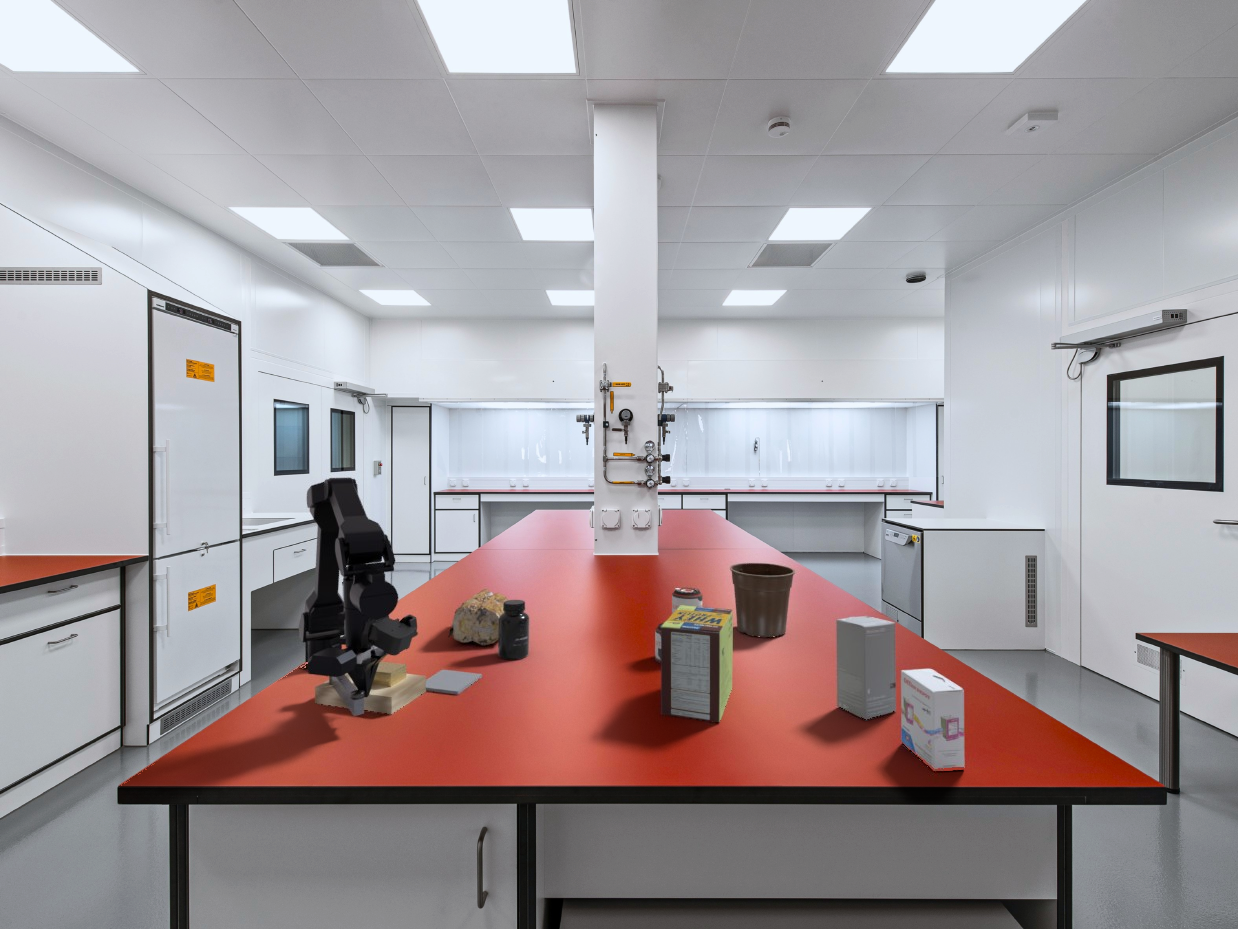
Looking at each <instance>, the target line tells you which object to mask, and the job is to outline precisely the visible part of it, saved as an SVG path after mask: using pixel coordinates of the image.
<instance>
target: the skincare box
mask: <svg viewBox="0 0 1238 929" xmlns="http://www.w3.org/2000/svg"><path fill="white" fill-rule="evenodd" d="M835 622H836V623H835V624H836V706H837V707H838V706H839V707H841V708H843V709H842V710H844V709H845V710H844V711H846V710H847V711H846V712H848V711H849V713H850V714H853V715H855V716H857V717H859V718H861V717H862V718H864V719H866V720H865V721H868V720H867V719H869V720H871V719H873V718H872V717H875V718H877V717H876V716H878V717H881V716H884V715H887V714H891V713H894V712H893V711H895V712H896V711H897V685H896V684H897V681H896V680H897V679H896V678H897V677H896V676H897V673H896V671H897V670H896V669H897V668H896V667H897V666H896V663H897V662H896V622H894V621H891V620H887V619H886V620H885V619H882V618H877V617H873V616H869V615H863V616H849V617H844V618H837V619H836V621H835ZM839 707H838V708H839ZM841 708H840V709H841ZM880 715H881V716H880ZM862 718H861V719H862ZM870 718H871V719H870ZM864 719H863V720H864Z"/></svg>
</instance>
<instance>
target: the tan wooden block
mask: <svg viewBox="0 0 1238 929" xmlns="http://www.w3.org/2000/svg"><path fill="white" fill-rule="evenodd" d="M406 674H407V664H404V663H396V662H388V661H382V660H381V661H380V663H379V665H378V668H377V671H376V674H375V677H374V680H373V684H372V685H379V686H387V687H392V686H393V685H395V684H397V683H398V682H400V681H402V680H403V679H405V678H406Z"/></svg>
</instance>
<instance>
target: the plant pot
mask: <svg viewBox="0 0 1238 929" xmlns="http://www.w3.org/2000/svg"><path fill="white" fill-rule="evenodd" d="M729 569H730V572H731V579H732V585H733V589H734V599H735V603H734V604H735V614H736V629H737V631H738V632H740V633H741V634H747V635H748V636H749V635H753V636H752V637H754V636H760V637H773V636H777V637H779V636H781V635H782V634H784V633H785V632H787V622H788V612H789V600H790V593H791V588H792V586H793V580H794V579H793V578H794V575H795V574H796V571H795V569H793V568H792V567H790V566H786V565H780V564H775V563H768V562H767V563H765V562H743V563H736V564H732V565H730V567H729ZM785 634H786V633H785ZM785 634H784V635H785ZM782 636H783V635H782Z"/></svg>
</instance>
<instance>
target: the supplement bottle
mask: <svg viewBox="0 0 1238 929" xmlns="http://www.w3.org/2000/svg"><path fill="white" fill-rule="evenodd" d="M503 611H504V613H503V614H501V615H500V617H499V628H498V640H497V642H498V643H497V644H498V645H497V655H498V656H499V658H500V659H503V660H508V661H514V660H515V661H516V660H521V659H525V658H527V657H528V655H529V652H530V616H529V614H528V613H527V612H525V611H526V601H525V600H523V599H508V601H505V602H504V604H503Z"/></svg>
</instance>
